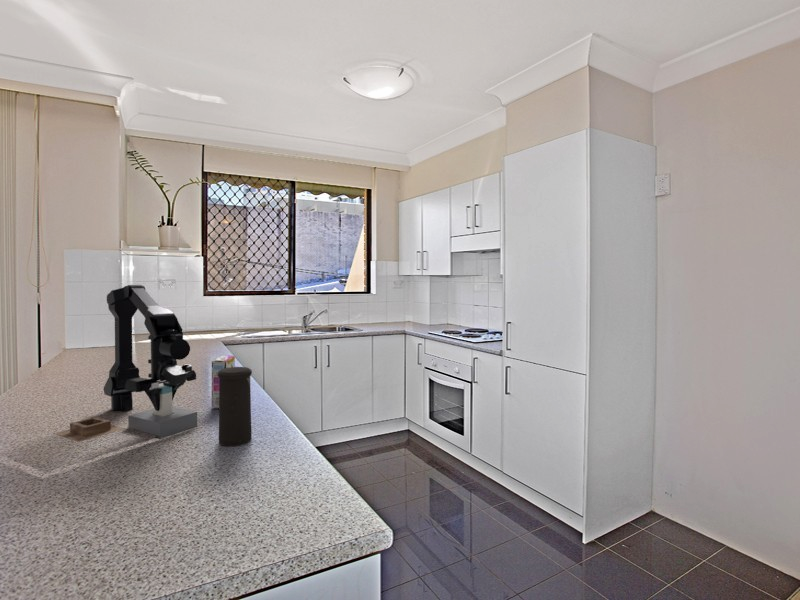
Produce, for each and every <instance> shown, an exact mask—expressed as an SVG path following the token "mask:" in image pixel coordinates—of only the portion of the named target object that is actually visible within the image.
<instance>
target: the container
mask: <svg viewBox="0 0 800 600" xmlns="http://www.w3.org/2000/svg"><path fill="white" fill-rule="evenodd" d="M252 373H253V371H252V369H250V368H249V367H248V366H247V367H246V366H235V367H229V368H223V369H221V370H220V371H218V376H219V409H218V444H219V445H220V446H224V447H237V446H241V445H245V444H248V443H249V442H251V441H252V408H251V407H252V406H251V405H252V404H251V401H252V400H251V399H252V398H251V397H252V396H251V395H252V393H251V376H252Z"/></svg>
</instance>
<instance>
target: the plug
mask: <svg viewBox="0 0 800 600" xmlns="http://www.w3.org/2000/svg"><path fill="white" fill-rule="evenodd" d="M159 388H162V390H161V392H160V410H159V411H156V410H155V408H154V407H153V409H154V415H157V416H161V417H163V416H167V415H170V414H172V406H173V401H172V387H170V386H165V385H163V384H162V385H159Z"/></svg>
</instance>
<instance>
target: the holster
mask: <svg viewBox="0 0 800 600" xmlns="http://www.w3.org/2000/svg"><path fill="white" fill-rule="evenodd" d="M124 429H126V428H125V427H121V426H118V425H113V424H111V420H108V419H106V418H105V419H104V418H101V417H97V416H93V417H90V418H86V419H82V420H78V421H73V422H71V423H69V430H64V431H60V432H57V433H55V435H58V436H61V437H64V438H67V439H71V440H73V441H77V442H83V441H85V440H91V439H92V438H97V437H101V436H103V435H107V434H110V433H113V432H118V431H121V430H124Z"/></svg>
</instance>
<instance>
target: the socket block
mask: <svg viewBox="0 0 800 600" xmlns="http://www.w3.org/2000/svg"><path fill="white" fill-rule="evenodd" d="M127 419H128V428H129V429H133V430H136V431H140V432H144V433H148V434H151V435H155V436H154V439H157V440H161V439H164V438H168V437H171V436H173V435H177V434H180V433H184V432H186V431H189V430H192V429H195V428H198V411H196V410H191V409H186V408H181V407H176V406H173V405H172V414H170V415H167V416H163V417H161V416H157V415H154V408H151V409H147V410H143V411H139V412H135V413H132V414H128V415H127Z"/></svg>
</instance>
